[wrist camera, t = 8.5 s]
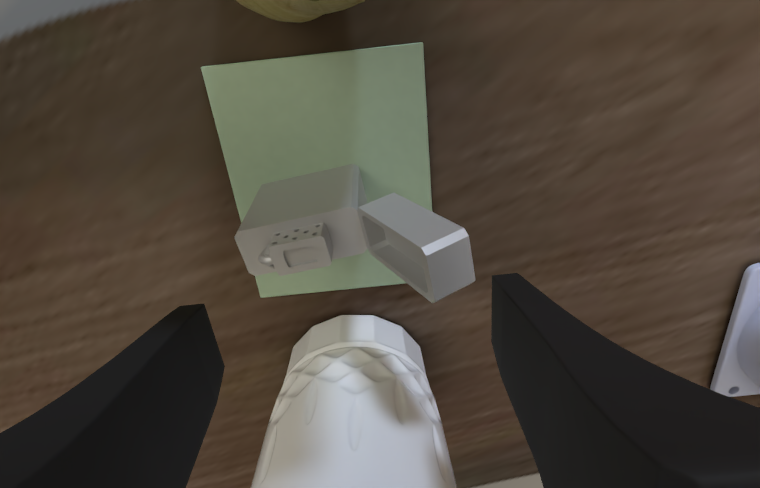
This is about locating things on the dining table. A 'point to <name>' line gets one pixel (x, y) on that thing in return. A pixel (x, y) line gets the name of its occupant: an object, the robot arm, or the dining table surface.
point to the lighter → (352, 232)
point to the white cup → (355, 413)
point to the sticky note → (325, 137)
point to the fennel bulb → (297, 8)
